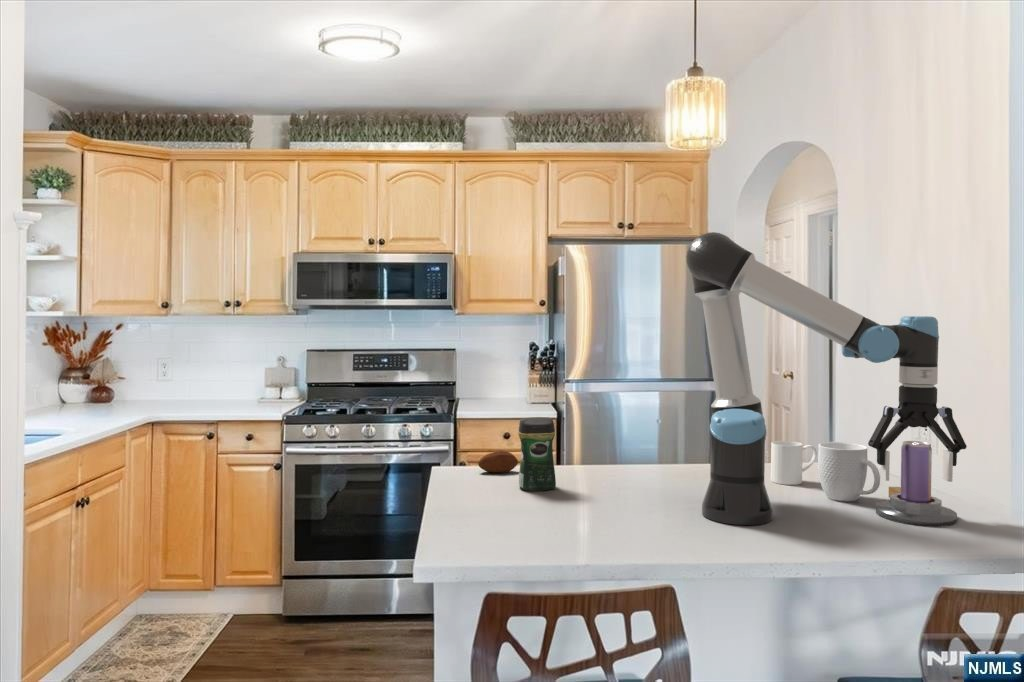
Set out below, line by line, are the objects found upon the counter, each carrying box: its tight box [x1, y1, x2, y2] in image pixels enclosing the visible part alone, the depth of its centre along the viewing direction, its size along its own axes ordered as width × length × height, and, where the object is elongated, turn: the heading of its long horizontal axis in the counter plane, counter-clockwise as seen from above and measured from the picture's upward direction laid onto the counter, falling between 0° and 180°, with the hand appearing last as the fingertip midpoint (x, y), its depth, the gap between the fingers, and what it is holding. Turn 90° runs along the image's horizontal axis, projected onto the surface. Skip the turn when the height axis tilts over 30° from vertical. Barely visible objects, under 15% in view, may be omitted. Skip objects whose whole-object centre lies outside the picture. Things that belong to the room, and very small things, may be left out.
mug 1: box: [770, 440, 818, 486], centre depth 197 cm, size 12×8×10 cm, turn 96°
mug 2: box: [817, 441, 881, 502], centre depth 178 cm, size 15×11×13 cm
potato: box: [477, 449, 519, 474], centre depth 209 cm, size 6×12×6 cm, turn 101°
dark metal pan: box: [875, 486, 958, 528], centre depth 165 cm, size 16×19×4 cm
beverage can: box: [900, 440, 933, 503], centre depth 163 cm, size 6×6×15 cm
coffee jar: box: [517, 416, 557, 492], centre depth 190 cm, size 10×8×19 cm
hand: (916, 480), depth 163 cm, fingers open, 13 cm apart
